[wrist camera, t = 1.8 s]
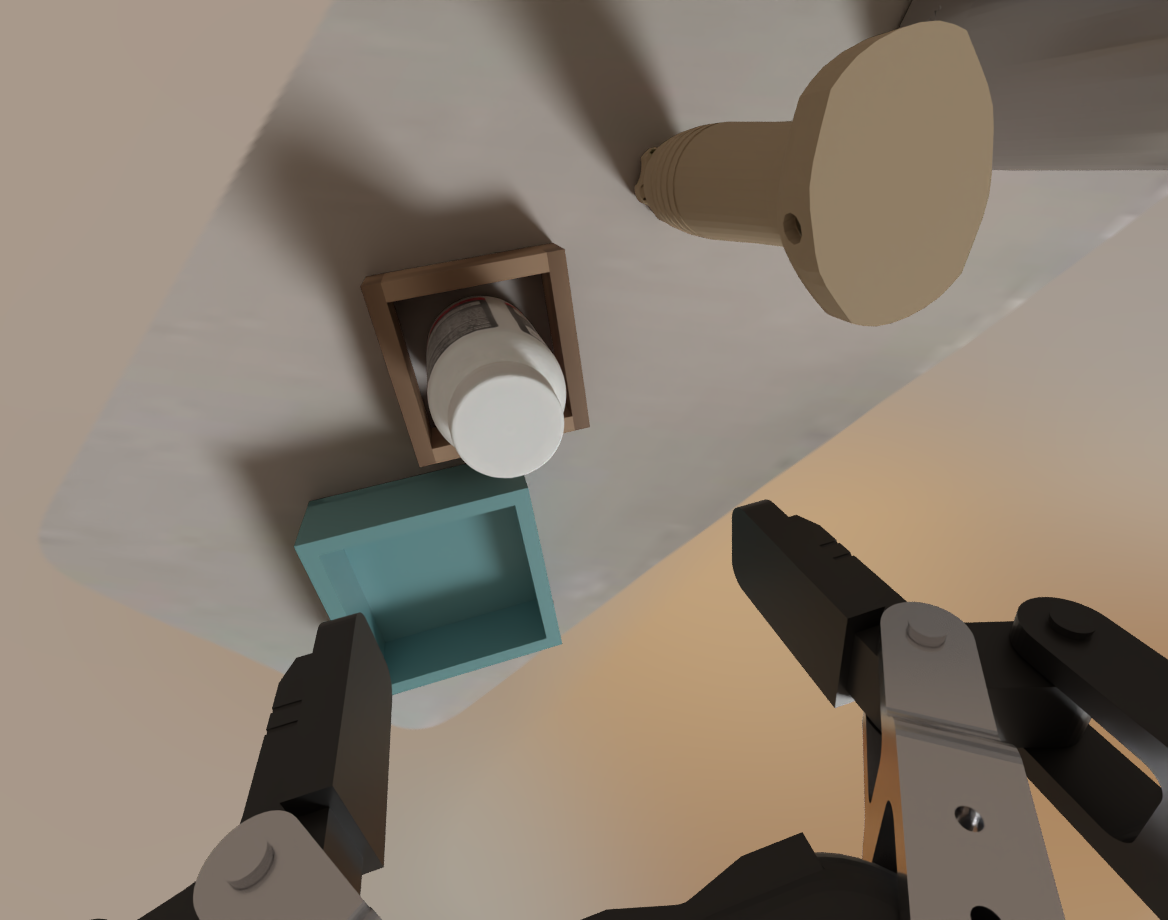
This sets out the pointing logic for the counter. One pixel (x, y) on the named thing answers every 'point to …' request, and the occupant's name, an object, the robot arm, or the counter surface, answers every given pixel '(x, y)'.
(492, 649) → the tray
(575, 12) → the counter surface
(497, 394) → the pill bottle
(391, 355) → the brown open box
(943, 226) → the handle
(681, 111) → the counter surface
